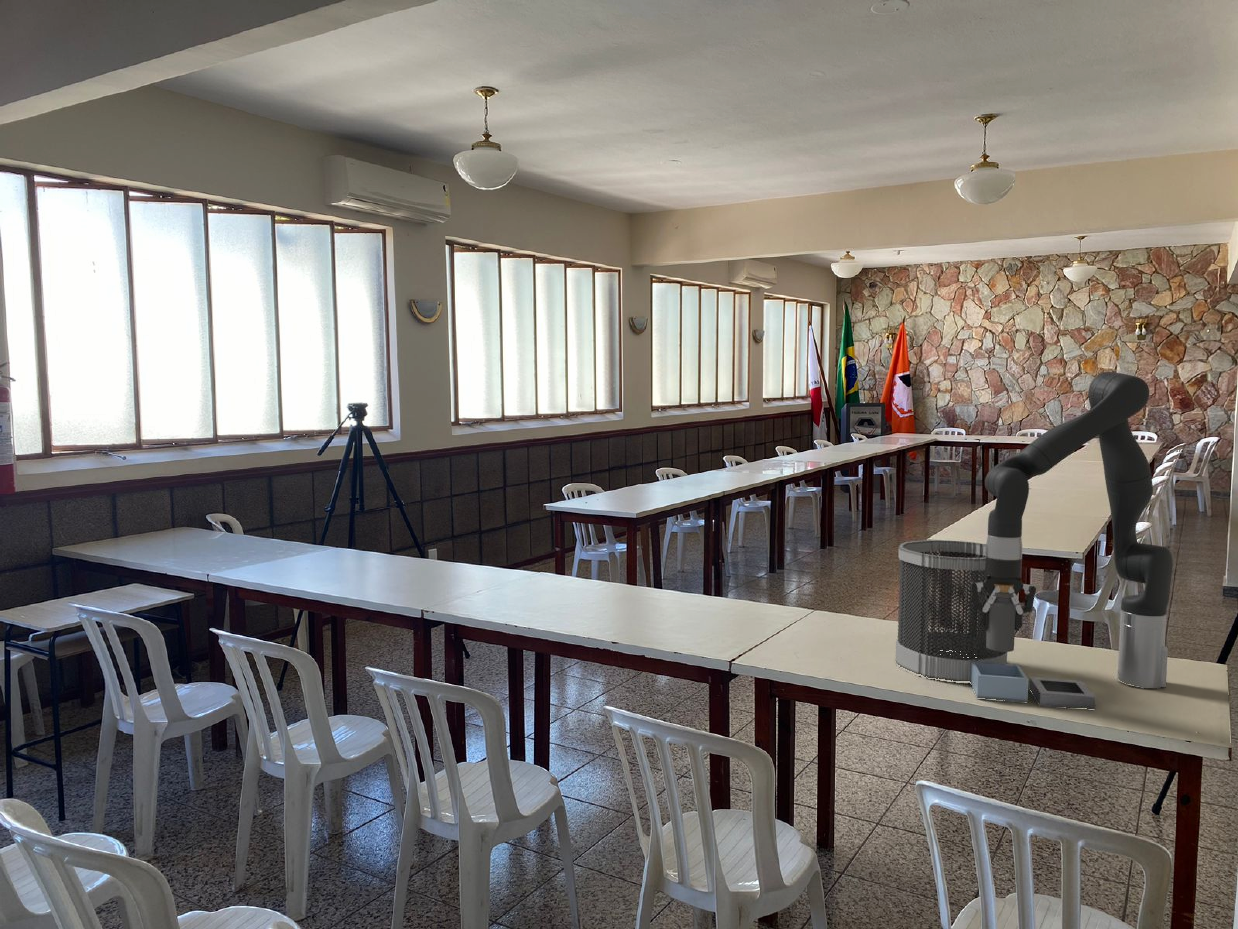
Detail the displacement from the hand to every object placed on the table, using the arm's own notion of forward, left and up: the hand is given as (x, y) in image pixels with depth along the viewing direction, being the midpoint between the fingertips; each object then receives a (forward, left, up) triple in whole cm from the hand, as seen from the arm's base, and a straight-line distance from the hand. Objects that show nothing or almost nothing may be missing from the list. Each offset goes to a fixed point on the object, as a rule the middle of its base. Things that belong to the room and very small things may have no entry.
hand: (1001, 628), depth 200 cm
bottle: (0, 0, -5) cm, 5 cm away
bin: (0, 0, -15) cm, 15 cm away
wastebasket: (+8, -18, -15) cm, 25 cm away
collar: (-13, +1, -15) cm, 20 cm away
